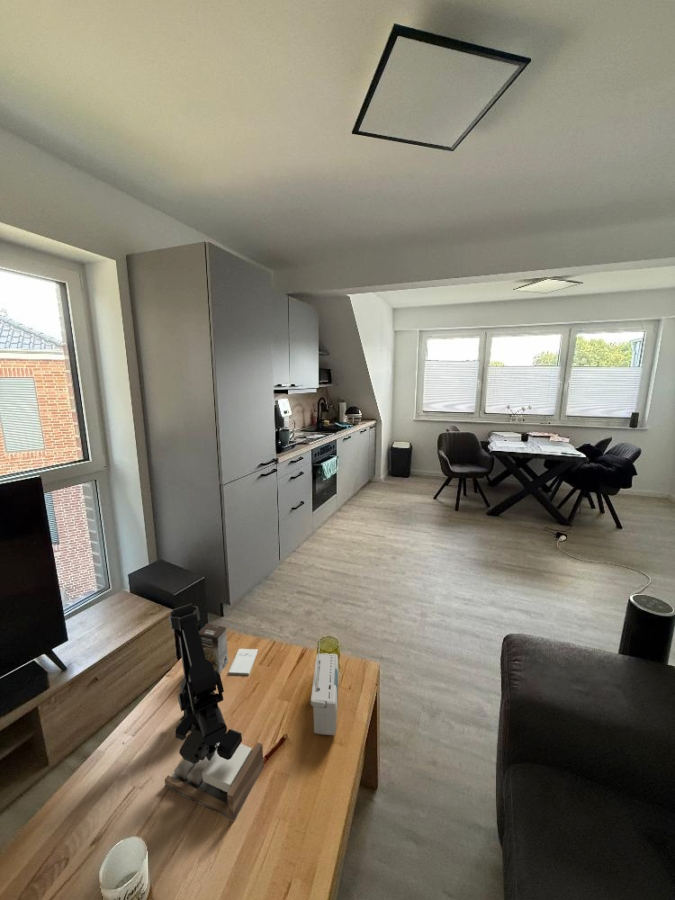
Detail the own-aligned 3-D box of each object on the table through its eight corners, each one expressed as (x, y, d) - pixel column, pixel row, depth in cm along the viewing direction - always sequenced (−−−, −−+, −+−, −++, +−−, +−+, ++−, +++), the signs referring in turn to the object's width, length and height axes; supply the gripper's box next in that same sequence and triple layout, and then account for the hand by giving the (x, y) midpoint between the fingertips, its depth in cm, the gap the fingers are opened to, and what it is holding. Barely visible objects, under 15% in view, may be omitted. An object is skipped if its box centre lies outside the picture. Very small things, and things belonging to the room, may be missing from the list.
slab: (203, 781, 96) (202, 772, 96) (226, 745, 105) (225, 737, 105) (230, 794, 93) (230, 784, 93) (252, 756, 102) (251, 748, 102)
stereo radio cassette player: (336, 738, 112) (336, 684, 109) (310, 737, 113) (309, 684, 109) (338, 683, 133) (338, 636, 129) (316, 682, 133) (316, 635, 129)
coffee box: (199, 669, 140) (196, 633, 136) (209, 657, 146) (206, 622, 142) (219, 674, 137) (216, 637, 134) (229, 662, 143) (226, 626, 140)
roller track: (165, 786, 99) (162, 763, 98) (200, 740, 112) (198, 718, 111) (234, 821, 91) (232, 796, 90) (263, 766, 104) (262, 744, 103)
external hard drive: (228, 675, 137) (238, 651, 150) (249, 676, 137) (258, 652, 149) (228, 672, 137) (238, 648, 149) (248, 673, 137) (257, 648, 149)
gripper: (156, 728, 94) (162, 776, 97) (214, 753, 88) (219, 803, 91) (187, 694, 104) (192, 738, 107) (241, 714, 98) (244, 760, 101)
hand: (210, 759), depth 101 cm, fingers closed
